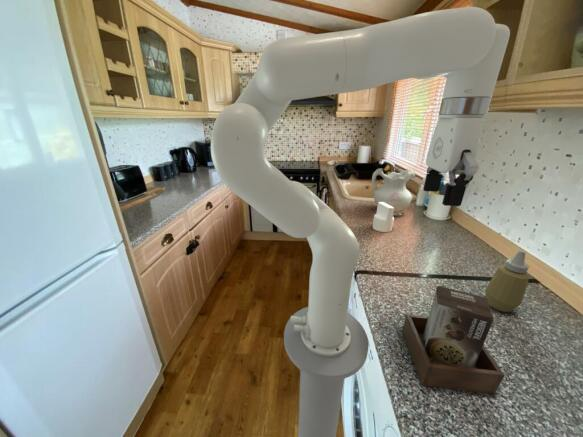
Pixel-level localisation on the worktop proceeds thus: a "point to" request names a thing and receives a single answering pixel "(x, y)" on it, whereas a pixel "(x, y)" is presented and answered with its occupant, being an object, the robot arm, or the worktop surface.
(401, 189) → the ceramic pitcher
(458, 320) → the coffee box
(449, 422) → the worktop surface
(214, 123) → the robot arm
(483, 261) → the worktop surface
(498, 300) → the squeeze bottle
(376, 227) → the base with upright slab
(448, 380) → the tray
